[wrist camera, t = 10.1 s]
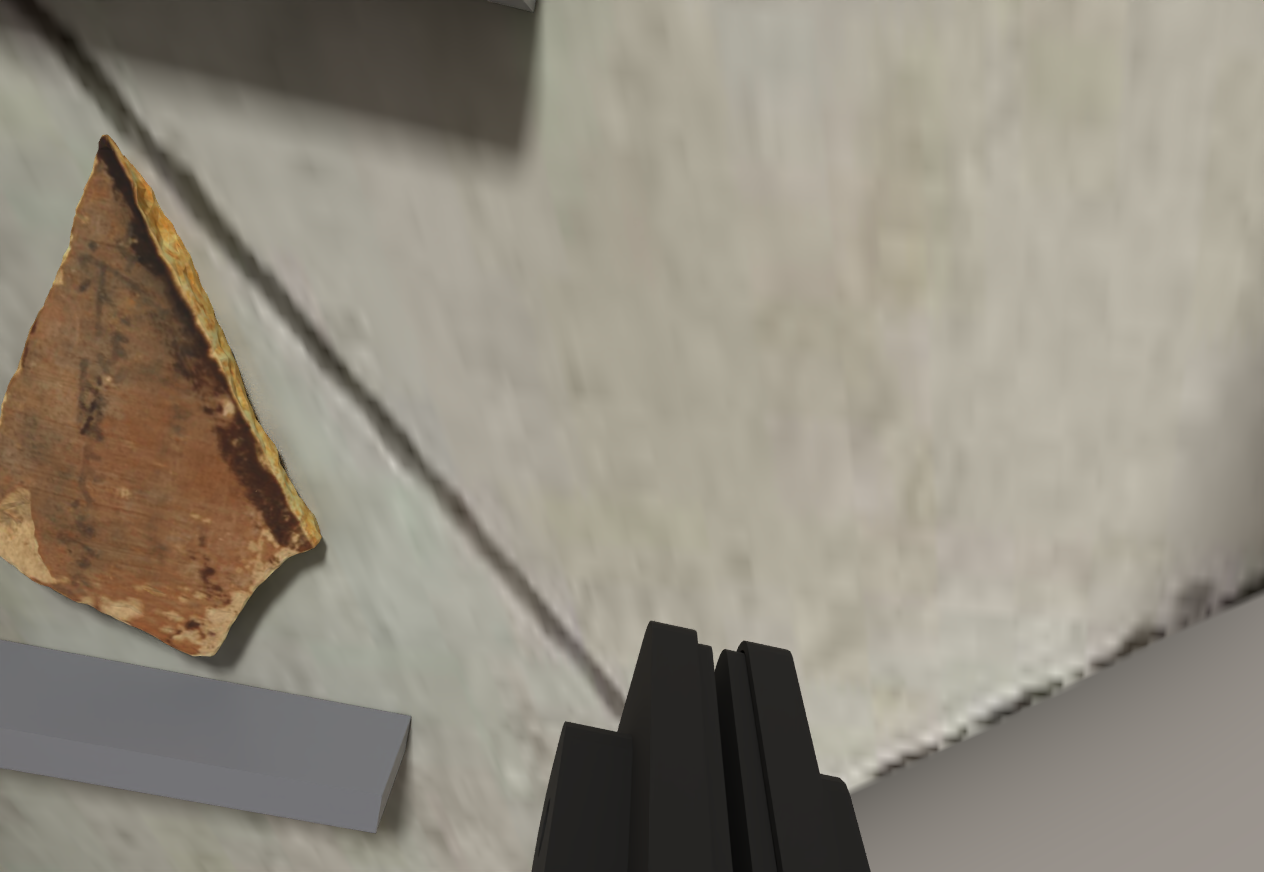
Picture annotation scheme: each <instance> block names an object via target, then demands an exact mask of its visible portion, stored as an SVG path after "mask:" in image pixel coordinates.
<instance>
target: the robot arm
mask: <svg viewBox="0 0 1264 872" xmlns="http://www.w3.org/2000/svg"><path fill="white" fill-rule="evenodd" d="M532 872H870V868H869V864H868V860H867V856H866V853H865V849H864V845H863V842H862V838H861V835H860V831H859V827H858V823H857V820H856V816H855V812H854V808H853V805H852V801H851V797H850V794H849V791H848V789H847V786H846V784H845V783H844V782H843V781H842V780H841V779H840V778H838V777H833V776H828V775H823V774H820V773H819V768H818V764H817V760H816V755H815V751H814V747H813V743H812V738H811V734H810V730H809V725H808V721H807V717H806V712H805V708H804V704H803V700H802V695H801V691H800V687H799V682H798V678H797V674H796V670H795V665H794V661H793V657H792V654H791V652H790V651H789V650H786V649H781V648H777V647H772V646H767V645H763V644H758V643H753V642H749V641H743V642H741V644H740V645H739V647H738V649H737V652H736V651H731V650H726V649H724V650H723V651H722V652H721V654H720V657H719V659H718V662H717V665H716V669H715V672H714V662H713V652H712V647H711V646H708V645H703V644H698V639H697V632H696V631H695V630H692V629H688V628H683V627H678V626H674V625H669V624H664V623H660V622H655V621H650V622H649V624H648V626H647V629H646V632H645V635H644V639H643V642H642V646H641V649H640V653H639V656H638V660H637V664H636V667H635V671H634V674H633V678H632V681H631V685H630V689H629V692H628V696H627V699H626V703H625V706H624V710H623V713H622V717H621V721H620V724H619V728H618V731H617V732H615V731H610V730H605V729H600V728H595V727H590V726H586V725H581V724H576V723H571V722H566V721H565V723H564V725H563V728H562V732H561V736H560V739H559V743H558V747H557V751H556V755H555V759H554V763H553V767H552V771H551V775H550V780H549V784H548V788H547V793H546V797H545V802H544V807H543V812H542V816H541V821H540V827H539V832H538V837H537V843H536V848H535V854H534V860H533V866H532Z"/></svg>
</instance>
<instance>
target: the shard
mask: <svg viewBox="0 0 1264 872" xmlns="http://www.w3.org/2000/svg"><path fill="white" fill-rule="evenodd" d="M321 538H322V536H321V535H320V529H319V526H318V523H317V521H316V518H315V516H314V514H313V513H312V512H311V511H310V510H309V509H308V508H307V506H306V505H305V503H304V502H303V500H302V499H301V498H300V497H299V496H298V494H297V492H296V490H295V488H294V486H293V485H292V483H291V481H290V480H289V478H288V476H287V474H286V472H285V470H284V469H283V467H282V466H281V465H280V460H279V455H278V450H277V448H276V446H275V444H274V443H273V442H272V441H271V440H270V438H269V437H268V436H267V435H266V433H265V432H264V430H263V428H262V427H261V425H260V424H259V422H258V421H257V420H256V417H255V414H254V411H253V409H252V407H251V404H250V402H249V400H248V398H247V395H246V391H245V388H244V385H243V382H242V379H241V375H240V372H239V368H238V366H237V363H236V361H235V359H234V357H233V355H232V352H231V349H230V347H229V345H228V343H227V340H226V338H225V335H224V333H223V330H222V329H221V327H220V326H219V324H218V322H217V320H216V318H215V315H214V310H213V307H212V305H211V303H210V301H209V298H208V296H207V294H206V292H205V291H204V289H203V288H202V286H201V283H200V280H199V276H198V273H197V271H196V270H195V268H194V265H193V262H192V258H191V256H190V254H189V253H188V251H187V250H186V248H185V246H184V244H183V242H182V240H181V239H180V237H179V236H178V235H177V233H176V231H175V228H174V226H173V224H172V223H171V222H170V221H169V220H168V218H167V217H166V216H165V215H164V213H163V211H162V210H161V208H160V206H159V204H158V202H157V200H156V198H155V195H154V192H153V190H152V188H151V187H150V186H149V185H148V184H147V183H146V181H145V180H144V179H143V177H142V176H141V174H140V173H139V172H138V171H137V170H136V169H135V167H134V166H133V165H132V164H131V163H130V162H129V161H128V159H127V158H126V157H125V156H123V155H122V153H121V151H120V150H119V148H118V146H117V145H116V143H115V142H114V141H113V140H112V139H111V138H110V136H109V135H102V137H101V139H100V141H99V150H98V152H97V154H96V157H95V160H94V165H93V169H92V172H91V175H90V177H89V180H88V182H87V184H86V186H85V188H84V193H83V195H82V197H81V199H80V201H79V204H78V206H77V208H76V215H75V217H74V222H73V227H72V230H71V236H70V244H69V247H68V249H67V251H66V252H65V254H64V256H63V260H62V263H61V266H60V268H59V270H58V272H57V275H56V278H55V280H54V282H53V286H52V288H51V289H50V292H49V294H48V296H47V298H46V300H45V303H44V306H43V307H42V309H41V310H40V311H39V313H38V315H37V317H36V319H35V321H34V323H33V325H32V327H31V328H30V331H29V334H28V337H27V340H26V343H25V347H24V350H23V353H22V357H21V359H20V362H19V366H18V369H17V371H16V373H15V374H14V376H13V377H12V379H11V381H10V383H9V385H8V387H7V391H6V394H5V397H4V400H3V403H2V405H1V417H0V556H1V557H2V558H4V559H5V560H6V561H7V562H9V563H10V564H12V565H13V566H15V567H16V568H17V569H18V570H19V571H20V572H21V573H23V574H24V575H26V576H27V577H29V578H30V579H31V580H32V581H34V582H36V583H38V584H40V585H44V586H48V587H50V588H52V589H53V590H55V591H56V592H58V593H60V594H62V595H64V596H66V597H68V598H70V599H71V600H73V601H76V602H78V603H84V604H88V605H90V606H92V607H94V608H95V609H97V610H98V611H100V612H101V613H104V614H107V615H110V616H112V617H114V618H115V619H117V620H119V621H122V622H124V623H126V624H128V625H131V626H133V627H136V628H138V629H141V630H143V631H145V632H147V633H149V634H150V635H152V636H154V637H156V638H157V639H159V640H161V641H162V642H164V643H166V644H168V645H170V646H171V647H173V648H175V649H177V650H180V651H182V652H185V653H187V654H189V655H191V656H210V657H212V656H213V655H215V654H216V653H217V651H218V650H219V648H220V647H221V645H222V643H223V642H224V640H225V639H226V637H227V634H228V632H229V630H230V627H231V625H232V624H233V623H234V621H235V620H236V618H237V616H238V615H239V613H240V612H241V611H242V609H243V608H244V606H245V604H246V603H247V601H248V600H249V598H250V597H251V595H252V594H253V592H254V591H255V589H256V588H257V587H258V586H259V585H260V584H262V583H263V582H264V581H265V580H266V579H267V578H268V577H269V576H270V575H271V574H272V573H273V572H274V571H275V570H276V569H277V568H279V567H280V566H281V564H282V563H283V562H284V561H285V560H287V559H288V558H289V557H291V556H294V555H296V554H299V553H304V552H306V551H309V550H311V549H313V548H315V546H316V545H317V544H318V543H319V542H320V540H321Z"/></svg>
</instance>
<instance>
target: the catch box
mask: <svg viewBox="0 0 1264 872" xmlns="http://www.w3.org/2000/svg"><path fill="white" fill-rule="evenodd" d="M486 1H490V2H494V3H498V4H502V5H506V6H510V7H514V8H518V9H522V10H526V11H530V12H534V9H535V3H536V0H486ZM410 720H411V716H407V715H402V714H397V713H391V712H386V711H381V710H375V709H370V708H364V707H359V706H354V705H348V704H343V703H337V702H332V701H327V700H321V699H316V698H311V697H305V696H300V695H294V694H289V693H284V692H278V691H273V690H268V689H262V688H257V687H251V686H246V685H241V684H235V683H230V682H225V681H219V680H214V679H208V678H203V677H198V676H192V675H187V674H181V673H176V672H171V671H165V670H160V669H155V668H149V667H144V666H138V665H133V664H128V663H122V662H117V661H112V660H106V659H101V658H95V657H90V656H85V655H79V654H74V653H69V652H63V651H58V650H52V649H47V648H42V647H36V646H31V645H25V644H20V643H15V642H9V641H4V640H0V768H4V769H10V770H16V771H21V772H27V773H33V774H39V775H44V776H50V777H56V778H62V779H67V780H73V781H79V782H84V783H90V784H96V785H102V786H107V787H113V788H119V789H125V790H130V791H136V792H142V793H148V794H153V795H159V796H165V797H170V798H176V799H182V800H188V801H193V802H199V803H205V804H211V805H216V806H222V807H228V808H233V809H239V810H245V811H251V812H256V813H262V814H268V815H274V816H279V817H285V818H291V819H297V820H302V821H308V822H314V823H319V824H325V825H331V826H337V827H342V828H348V829H354V830H360V831H365V832H371V833H376V831H377V829H378V826H379V823H380V820H381V817H382V815H383V812H384V809H385V806H386V803H387V801H388V798H389V795H390V792H391V789H392V787H393V784H394V781H395V778H396V775H397V772H398V770H399V767H400V764H401V761H402V758H403V756H404V753H405V749H406V743H407V738H408V732H409V726H410Z"/></svg>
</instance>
